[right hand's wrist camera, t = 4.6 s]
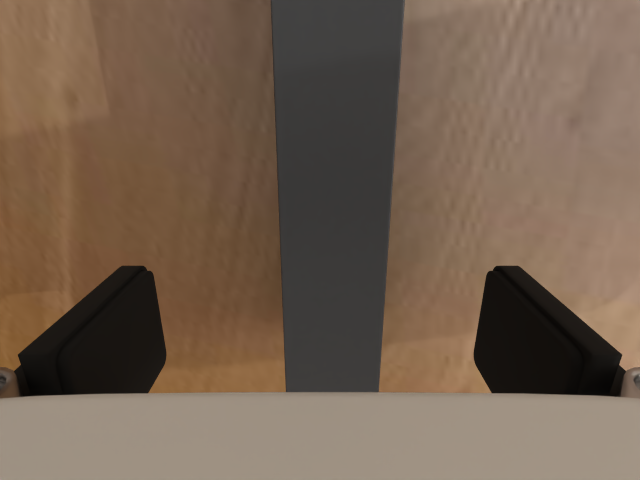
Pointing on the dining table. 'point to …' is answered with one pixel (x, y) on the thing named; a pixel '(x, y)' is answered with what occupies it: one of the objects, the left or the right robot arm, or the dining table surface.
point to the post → (335, 184)
